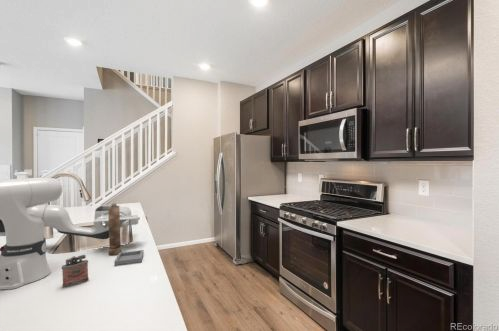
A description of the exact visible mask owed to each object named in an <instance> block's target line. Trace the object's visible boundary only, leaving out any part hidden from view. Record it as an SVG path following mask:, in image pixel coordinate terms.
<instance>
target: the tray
mask: <svg viewBox="0 0 499 331" xmlns="http://www.w3.org/2000/svg"><path fill="white" fill-rule="evenodd" d="M143 257H144V249H140V250H132V251H122V252H121V253H119V254H118V255H116V258H115V260H114V261H113V262H114V263H113V264H114V267H119V266H125V265H133V264H140V263H142V261H143Z"/></svg>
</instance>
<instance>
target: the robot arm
mask: <svg viewBox="0 0 499 331" xmlns="http://www.w3.org/2000/svg"><path fill="white" fill-rule="evenodd" d="M62 193H63V185H62V183H61V182H60V180H58V179H57V178H54V177H43V176H42V177H38V176H37V177H27V178H26V177H25V178H9V179H0V237H5V244H4V245H2V246H0V290H1V291H2V290H12V289H13V290H14V289H17V288H20V287H22V286H25V285H27V284H29V283H33V282H36V281H40V280H41V279H43V278H45V277H47V276H48V275H49V274H51V272H52V270H51V268H50V266H49V264H48V259H47V255H46V252H47V241H46V238H45V228H46V227H48V228H52V229H55V230H56V231H57V232H58V233H60V234H63V235H70V236H77V237H87V238H92V239H93V238H94V239H97V240H107V239H108V240H109V217H108V207H110V206H111V204H103V205H100V206H98V207H97V208H95V211H94V218H93V219H94V220H93V228H91V227H90V228H89V227H85V226H84V227H83V226H82V227H81V226H77V225H75V224H74V223H73V222H72V220H71V218H70V215H69V212H68V210H66V208H65V207H64V206H61V205H59V204H49V203H51V202H54V201H56V200H59V199H60V197H61V196H62ZM119 209H120V229H121V228H123V227H126V226H132V225H133V226H134V225H135V226H136V225H138V224H139V220H140V219H141V217H140V216H138V215H135V214H134V215H132V211H131V209H130V208H129V207H128V206H121V207H120V206H119Z"/></svg>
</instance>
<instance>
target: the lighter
mask: <svg viewBox="0 0 499 331" xmlns="http://www.w3.org/2000/svg"><path fill="white" fill-rule="evenodd" d="M86 258H87V257H86V254H80V255H77V256H74V255H72V256H71V258H66V259H65V264H63V265H62V266H61V270H62V271H61V272H62V288H63V289H64V288H70V287H73V286H77V285H81V284H83V283H86V282H89V280H90V278H89V265H88V263H89V260H88V259H86Z"/></svg>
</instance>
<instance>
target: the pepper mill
mask: <svg viewBox="0 0 499 331" xmlns="http://www.w3.org/2000/svg"><path fill="white" fill-rule="evenodd" d="M110 205H111V206H110V207H108V217H109V238H108V242H109V243H108V244H109V247H108V256H118V254H119V253H121V252H123V251H122V250H123V248H122V247H123V246H122V245H121V228H120V209H119V208H120V205H117V203H116V202H113V203H111V204H110Z"/></svg>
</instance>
